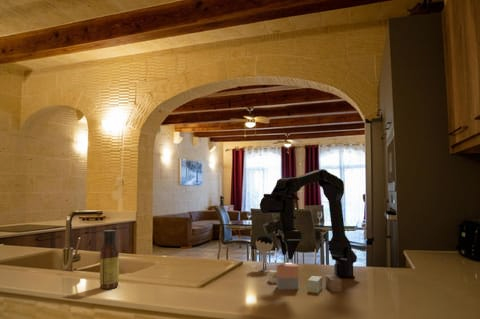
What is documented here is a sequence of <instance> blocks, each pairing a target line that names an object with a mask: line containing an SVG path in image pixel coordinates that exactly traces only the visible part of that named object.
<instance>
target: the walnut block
mask: <svg viewBox="0 0 480 319" xmlns="http://www.w3.org/2000/svg"><path fill="white" fill-rule="evenodd" d="M325 287H326V288H327V289H329V290H330V292H343V291H342V290H343V289H342V288H343V287H342V278H339V277H337V276H336V275H334V274H331V275H330V274H326V275H325Z"/></svg>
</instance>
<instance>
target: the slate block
mask: <svg viewBox="0 0 480 319" xmlns="http://www.w3.org/2000/svg"><path fill="white" fill-rule="evenodd" d="M276 288H277V289H278V290H279V291H280V290H281V291H282V290H283V291H284V290H285V291H286V289H287V291H288V290H299V277H298V278H278V277H277V283H276Z"/></svg>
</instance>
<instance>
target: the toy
mask: <svg viewBox="0 0 480 319" xmlns="http://www.w3.org/2000/svg"><path fill="white" fill-rule="evenodd" d="M273 246H274V241H273V239H272V237H271V236H269V234H262V235H259V236H258V237H257V238H256V240H255V247H256V249H257V250H258V251H259V252H258V251H255V252H254V255H255V256H258V255H260V256H261V255H262V270H266V269H267V263H268V262H267V261H268V260H267V257H268V256H272V257H274V256H275V252H273V251H272V252H270V251H271V250H272V249H273Z"/></svg>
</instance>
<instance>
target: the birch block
mask: <svg viewBox="0 0 480 319" xmlns="http://www.w3.org/2000/svg"><path fill="white" fill-rule="evenodd" d="M268 281H269V282H270V283H272V284H275V283H276V284H277V269H272V270H271V269H270V270H268Z"/></svg>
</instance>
